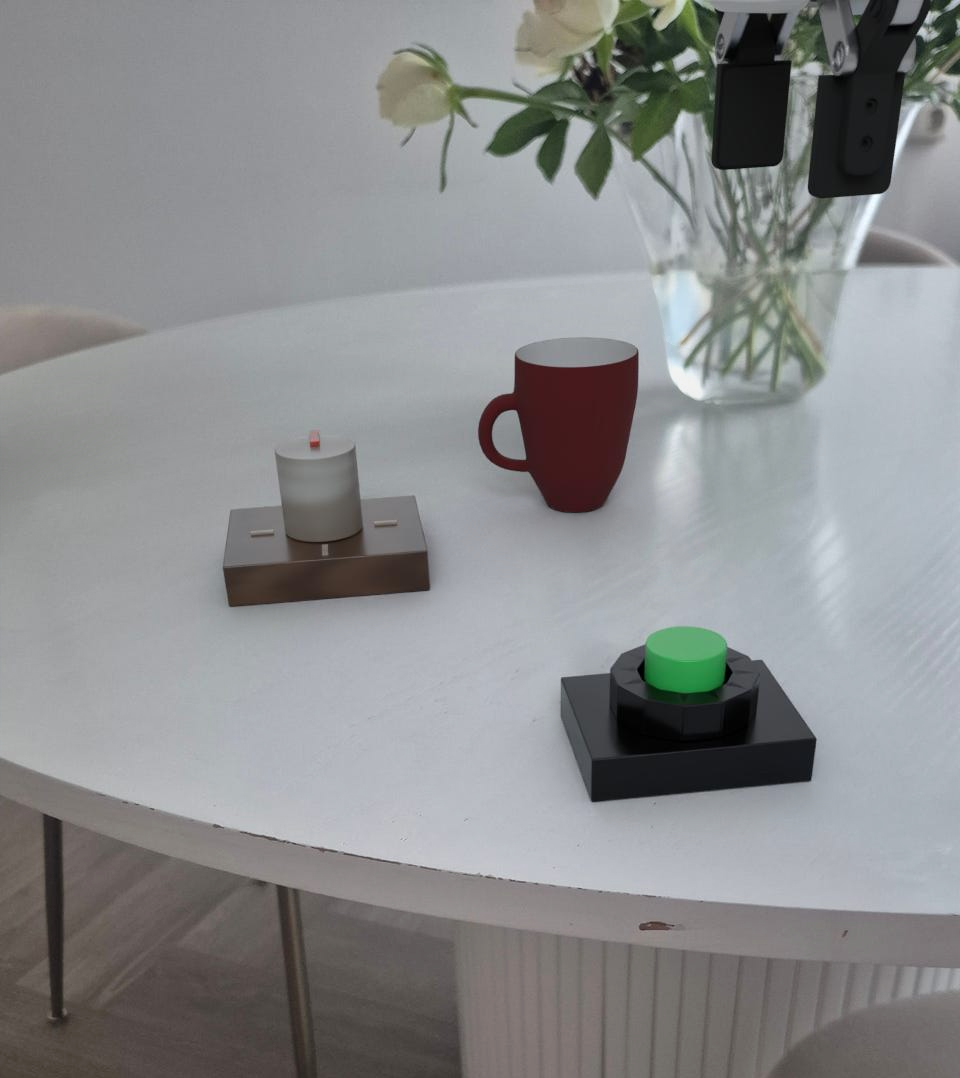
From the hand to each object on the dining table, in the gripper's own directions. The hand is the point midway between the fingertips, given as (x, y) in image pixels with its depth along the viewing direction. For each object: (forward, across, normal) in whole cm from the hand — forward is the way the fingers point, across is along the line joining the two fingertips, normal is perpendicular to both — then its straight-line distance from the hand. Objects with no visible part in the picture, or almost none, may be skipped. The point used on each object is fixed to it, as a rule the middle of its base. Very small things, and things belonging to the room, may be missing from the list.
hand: (793, 180), depth 52 cm
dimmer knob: (+20, -21, -19) cm, 35 cm away
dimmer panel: (+23, -21, -19) cm, 36 cm away
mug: (+23, -27, -2) cm, 36 cm away
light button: (+19, +6, -6) cm, 21 cm away
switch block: (+23, +6, -6) cm, 24 cm away
